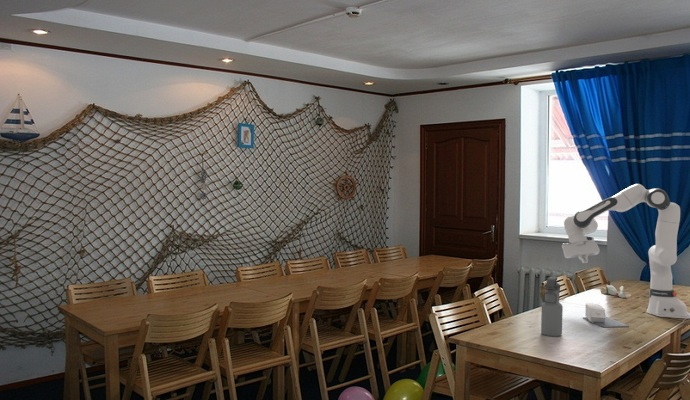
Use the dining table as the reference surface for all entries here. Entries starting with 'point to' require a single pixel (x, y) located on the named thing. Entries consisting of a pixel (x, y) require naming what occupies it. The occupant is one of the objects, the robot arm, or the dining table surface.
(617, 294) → the toy dog
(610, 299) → the dining table surface
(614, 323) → the mat
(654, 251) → the robot arm
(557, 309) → the water bottle
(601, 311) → the milk carton
